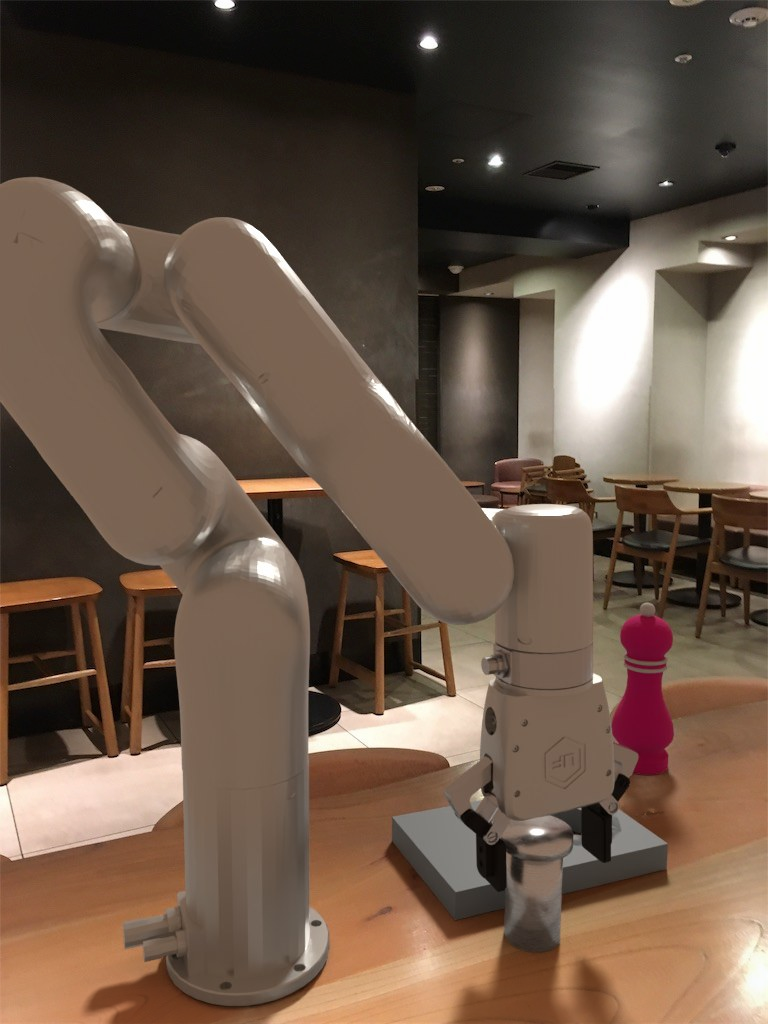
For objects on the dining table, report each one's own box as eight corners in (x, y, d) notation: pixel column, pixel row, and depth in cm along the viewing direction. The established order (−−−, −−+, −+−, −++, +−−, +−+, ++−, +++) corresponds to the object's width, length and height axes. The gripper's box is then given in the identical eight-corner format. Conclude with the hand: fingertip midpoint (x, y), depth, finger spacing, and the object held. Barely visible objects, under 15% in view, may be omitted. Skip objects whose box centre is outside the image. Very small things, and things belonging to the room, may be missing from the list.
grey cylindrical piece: (519, 966, 64) (522, 855, 63) (481, 921, 70) (484, 819, 69) (584, 948, 67) (588, 841, 65) (543, 906, 72) (546, 807, 71)
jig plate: (455, 920, 70) (455, 892, 70) (391, 840, 83) (392, 816, 83) (666, 868, 78) (667, 843, 78) (579, 803, 91) (579, 781, 91)
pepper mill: (676, 780, 97) (684, 611, 95) (611, 774, 99) (618, 608, 96) (668, 755, 104) (675, 597, 102) (608, 750, 106) (614, 594, 103)
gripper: (467, 694, 59) (472, 921, 61) (665, 660, 65) (663, 866, 67) (423, 665, 66) (429, 870, 68) (606, 637, 72) (606, 824, 74)
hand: (545, 868), depth 68 cm, fingers open, 9 cm apart
